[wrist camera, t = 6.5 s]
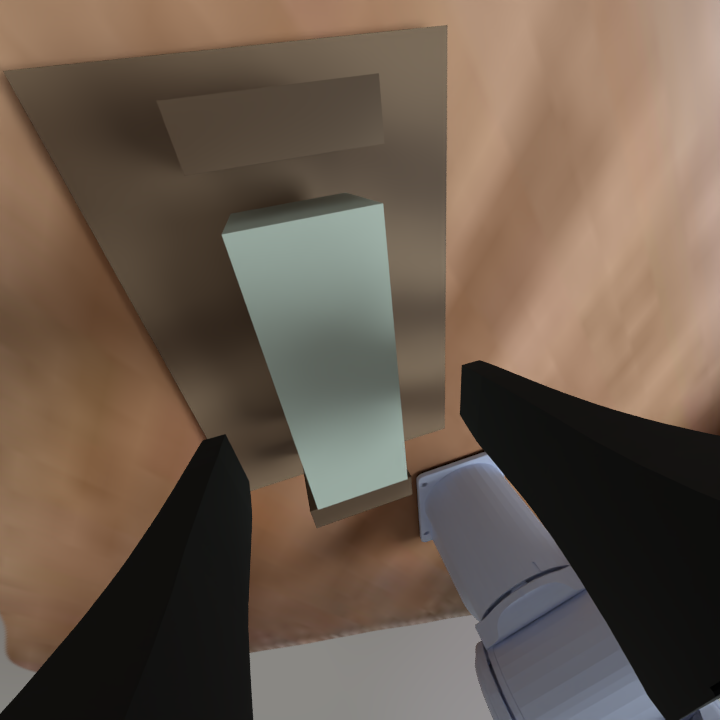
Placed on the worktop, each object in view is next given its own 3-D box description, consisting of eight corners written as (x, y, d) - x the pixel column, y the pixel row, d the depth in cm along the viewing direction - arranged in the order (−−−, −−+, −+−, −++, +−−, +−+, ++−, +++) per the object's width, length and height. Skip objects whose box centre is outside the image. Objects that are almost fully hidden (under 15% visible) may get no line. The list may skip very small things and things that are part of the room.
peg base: (437, 419, 23) (488, 487, 18) (238, 482, 21) (235, 580, 16) (434, 34, 12) (556, -53, 7) (23, 78, 10) (-194, -4, 5)
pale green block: (378, 419, 17) (407, 479, 14) (305, 442, 17) (318, 509, 14) (345, 192, 12) (382, 203, 8) (230, 213, 11) (221, 234, 8)
